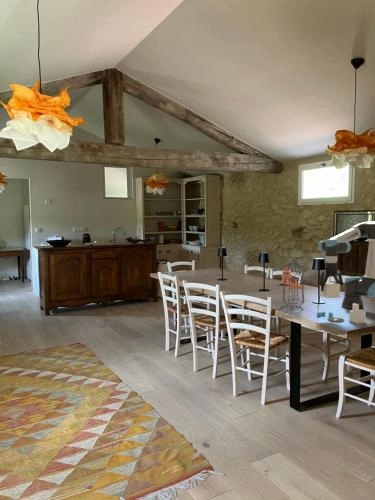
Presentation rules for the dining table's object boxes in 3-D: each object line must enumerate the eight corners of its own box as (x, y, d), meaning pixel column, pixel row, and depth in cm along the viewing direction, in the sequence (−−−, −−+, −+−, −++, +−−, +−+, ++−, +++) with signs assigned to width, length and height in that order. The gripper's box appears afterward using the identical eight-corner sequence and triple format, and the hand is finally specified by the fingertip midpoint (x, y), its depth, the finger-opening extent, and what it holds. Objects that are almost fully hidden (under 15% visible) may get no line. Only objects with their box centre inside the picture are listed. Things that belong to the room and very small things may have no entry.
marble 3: (330, 310, 268) (327, 313, 269) (331, 313, 265) (328, 316, 266) (333, 313, 269) (330, 315, 270) (334, 315, 266) (331, 318, 267)
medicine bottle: (356, 320, 258) (357, 302, 257) (365, 322, 252) (366, 304, 251) (348, 321, 256) (349, 303, 255) (357, 323, 249) (357, 305, 248)
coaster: (338, 318, 264) (338, 316, 264) (347, 321, 254) (347, 320, 254) (324, 318, 261) (324, 317, 261) (333, 322, 252) (333, 321, 252)
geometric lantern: (289, 310, 287) (290, 263, 285) (278, 306, 302) (279, 261, 300) (308, 309, 291) (309, 262, 289) (296, 304, 306) (297, 260, 304)
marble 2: (325, 316, 269) (321, 316, 271) (326, 313, 271) (322, 313, 273) (323, 314, 268) (319, 314, 270) (324, 310, 269) (320, 310, 272)
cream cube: (330, 295, 267) (331, 282, 266) (339, 297, 258) (340, 283, 257) (319, 295, 264) (319, 282, 263) (328, 298, 255) (328, 284, 255)
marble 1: (322, 316, 268) (319, 315, 270) (322, 312, 267) (319, 311, 270) (318, 317, 267) (315, 315, 270) (318, 313, 266) (315, 311, 269)
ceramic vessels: (311, 290, 368) (311, 270, 367) (290, 291, 364) (290, 271, 363) (293, 284, 402) (293, 266, 401) (274, 285, 398) (274, 267, 397)
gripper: (343, 261, 264) (342, 294, 266) (313, 262, 260) (312, 295, 262) (349, 262, 257) (348, 296, 258) (318, 263, 253) (318, 297, 254)
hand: (330, 295), depth 260 cm, fingers closed on cream cube, 9 cm apart
